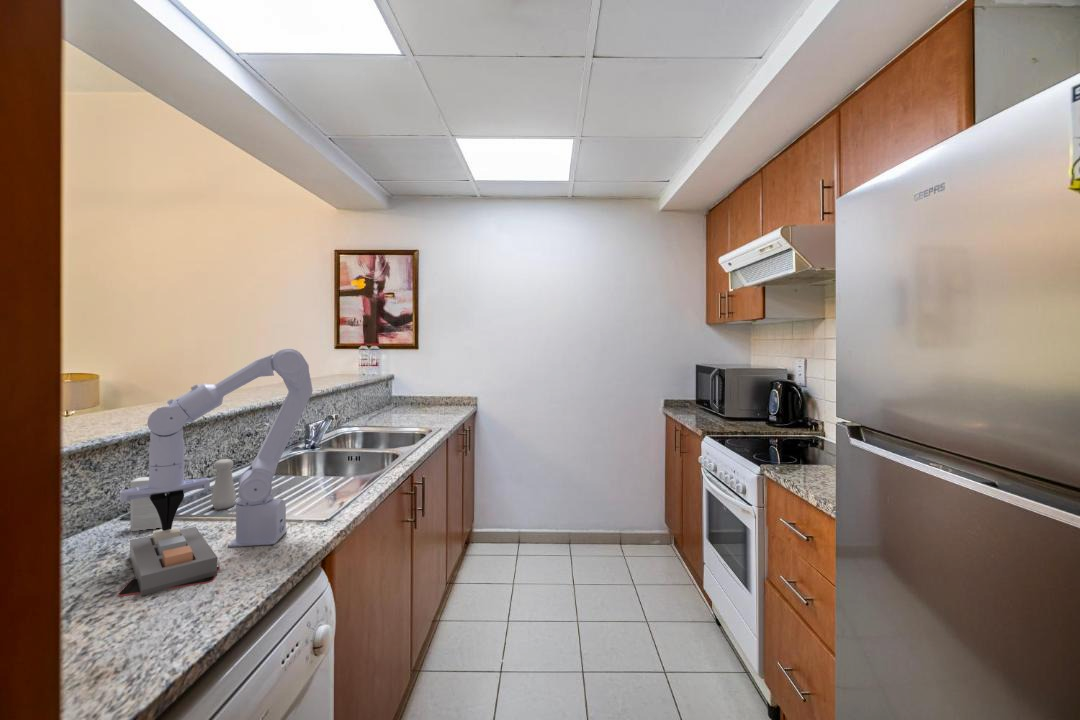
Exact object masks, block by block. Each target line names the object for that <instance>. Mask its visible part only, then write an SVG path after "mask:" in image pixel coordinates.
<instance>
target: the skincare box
mask: <svg viewBox="0 0 1080 720" xmlns="http://www.w3.org/2000/svg"><path fill="white" fill-rule="evenodd" d="M129 482H130V484H129V487H130V488H129V489H132V488H137V487H142V486H147V485H149V476H141V477H138V478H135V479H132V480H131V481H129ZM165 495H166V494H165ZM129 501H130V504H129V505H130V512H129V513H130V532H132V531H133V532H140V531H139V530H143V531H147V530H146V529H153V530H157V529H156V528H161V527H162V526H161V521H160V517H159V515H158V512H157V510H156V508H155V506H154V505H153V503H152V501H151V500H150V498H149V497H145V498H139V499H133V500H129ZM161 529H162V528H161Z"/></svg>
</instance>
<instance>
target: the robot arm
mask: <svg viewBox="0 0 1080 720" xmlns="http://www.w3.org/2000/svg"><path fill="white" fill-rule="evenodd" d="M274 371H275V372H276V374H278V376H280V377H281V379H283V381H282V382H283V383H284V385H285V386H286V389H287V391H288V393H287V395H286V397H285V399H284V401H283V403H282V405H281V406H280V409H279V411H278V413H277V414H276V417H275V418H274V421H273V423H272V425H271V427H270V429H269V431H268V433H267V435H266V436H265V439H264V441H263V442H262V444H261V447H260V449H259V451H258V453H257V455H256V456H255V458H254V459H253V460H252V462H251V464H250V466H249V467H248V468H247V469H246V470H244V471H243V472H242V473H241V475H240V476H239V477H238V478H239V479H238V490H237V491H238V496H239V497H238V498H236V500H235V538H233V540H232V541H230V542H229V543H228V544H227V547H228V548H231V547H232V548H234V547H250V546H252V547H253V546H266V545H267V546H268V545H269V546H270V545H275V544H276V543H277V542H278V541H279V540H280V539H281V538H282V537H283V536H284V535H285V534H286V533H287V532H288V530H287V529H286V528H287V527H286V526H287V525H286V524H287V523H286V522H287V518H286V517H287V516H286V515H287V514H286V513H287V512H286V511H287V509H286V508H287V507H286V501H285V500H283V499H282V498H281V499H279V498H278V499H277V498H274V494H273V493H271V492H272V490H273V478H274V476H275V474H276V471H277V468H278V464H279V462H280V460H281V457H282V455H283V453H284V451H285V450H286V447H287V446H288V443H289V442H290V439H291V437H292V436H293V433H294V431H295V429H296V428H297V425H298V423H299V421H300V419H301V417H302V415H303V413H304V412H305V411H304V410H305V408H306V407H307V405H308V403H309V400H310V399H311V396H312V394H313V391H314V390H313V385H312V381H311V380H312V378H311V374H310V366H309V364H308V362H307V361H306V359H305V357H304V356H303V354H302V353H301V351H299V350H297V349H293V348H284V349H280V350H278V351H276V352H275V353H274V354H273V353H271V354H269V355H268V354H267V355H266V356H263V357H260V358H258V359H256V360H254V361H252V362H251V363H249V364H247V365H246V366H244V367H242V368H240V369H239V370H236V372H234V373H232V374H231V375H229V376H227V377H226V378H224V379H222V380H220V381H219V382H217V383H215V384H212V383H205V382H204V383H202V384H201V385H199V384H197V383H196V384H195V385H193V386H191V387H190V391H187V392H185V393H184V394H182V395H181V396H179V397H177V398H175V399H174V398H170V399H168V400H167V404H168V405H163V406H161V407H157V408H156V410H154V411H152V412H151V413H150V415H149V416H148V418H147V427H148V429H149V430H150V434H149V439H150V442H149V444H148V445H149V446H148V447H149V448H148V449H149V450H148V456H149V457H148V468H149V469H148V477H149V485H147V486H142V487H137V488H132V489H130V488H128V489H121V490H119V502H120V503H124V502H128V501H130V500H133V499H139V498H145V497H149V498H150V500H151V501H152V503H153V505H154V506H155V508H156V510H157V512H158V515H159V517H160V521H161V526H162V528H161V529H162V530H163V531H164V530H169V529H172V527H173V524H174V523H173V522H174V519H175V516H176V513H177V511H178V509H179V508H180V505H181V503H182V502H183V500H184V498H185V493H184V492H189V491H194V490H202V489H203V490H206V489H210V487H211V486H210V485H211V482H210V481H211V479H210V478H209V477H203V478H202V477H201V478H193V479H185V440H184V428H183V427H184V426H185V424H186V423H193V422H194V421H196V420H199V418H201V417H204V416H206V415H207V414H209V413H210V412H212V411H213V410H215V409H217V408H218V407H220V406H221V405H222V404H223V401H224V397H226V395H228V394H230V393H233V392H234V391H236V390H237V389H240V388H242V387H243V386H246V385H247V384H249V383H250V382H252V381H254V380H256V379H258V378H260V377H261V378H262V377H272V376H275V373H274ZM165 494H166V495H165Z"/></svg>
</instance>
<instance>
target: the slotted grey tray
mask: <svg viewBox="0 0 1080 720" xmlns="http://www.w3.org/2000/svg"><path fill="white" fill-rule="evenodd" d="M179 530H180V536H182V535H183V536H184V538H185V540H186V546H188V545H189V546H190V548H191V549H192V551H193V560H192V561H188V562H184V563H180V564H176V565H172V566H168V567H163V565H162V555H158V544H156V545H154V544H153V534H152V535H148V536H143V537H138V538H133V539H130V540H129V558H130V563H131V565H132V569H133V573H134V576H135V578H136V579H137V583H138V586H139V590H140V594H139V595H140V597H145V596H148V595H151V594H155V593H158V592H162V591H166V589H167V590H169V589H168V588H170V587H175V586H178V585H182V584H186V583H189V582H193V581H197V580H200V579H204V578H208V577H212V576H215V575H216V577H217V576H218V574H217V567H218V556H217V555H216V553H215V552H214V551H213V548H211V546H210V545H209V543H208V542H207V541H206V539H205V537H203V535H202V534H201V532H200V531H199V529H198V528H197V526H192V527H187V528H184V529H183V528H182V529H179Z"/></svg>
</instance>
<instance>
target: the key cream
mask: <svg viewBox="0 0 1080 720" xmlns="http://www.w3.org/2000/svg"><path fill="white" fill-rule="evenodd" d="M180 530H181V529H180V527H178V525H177V526H172V529H169V530H164V531H163V530H162V528H161V529H155V530H153V532H152V535H153V544H154V545H156V544H158V540H163V539H168V538H172V537H177V536H180Z"/></svg>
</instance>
